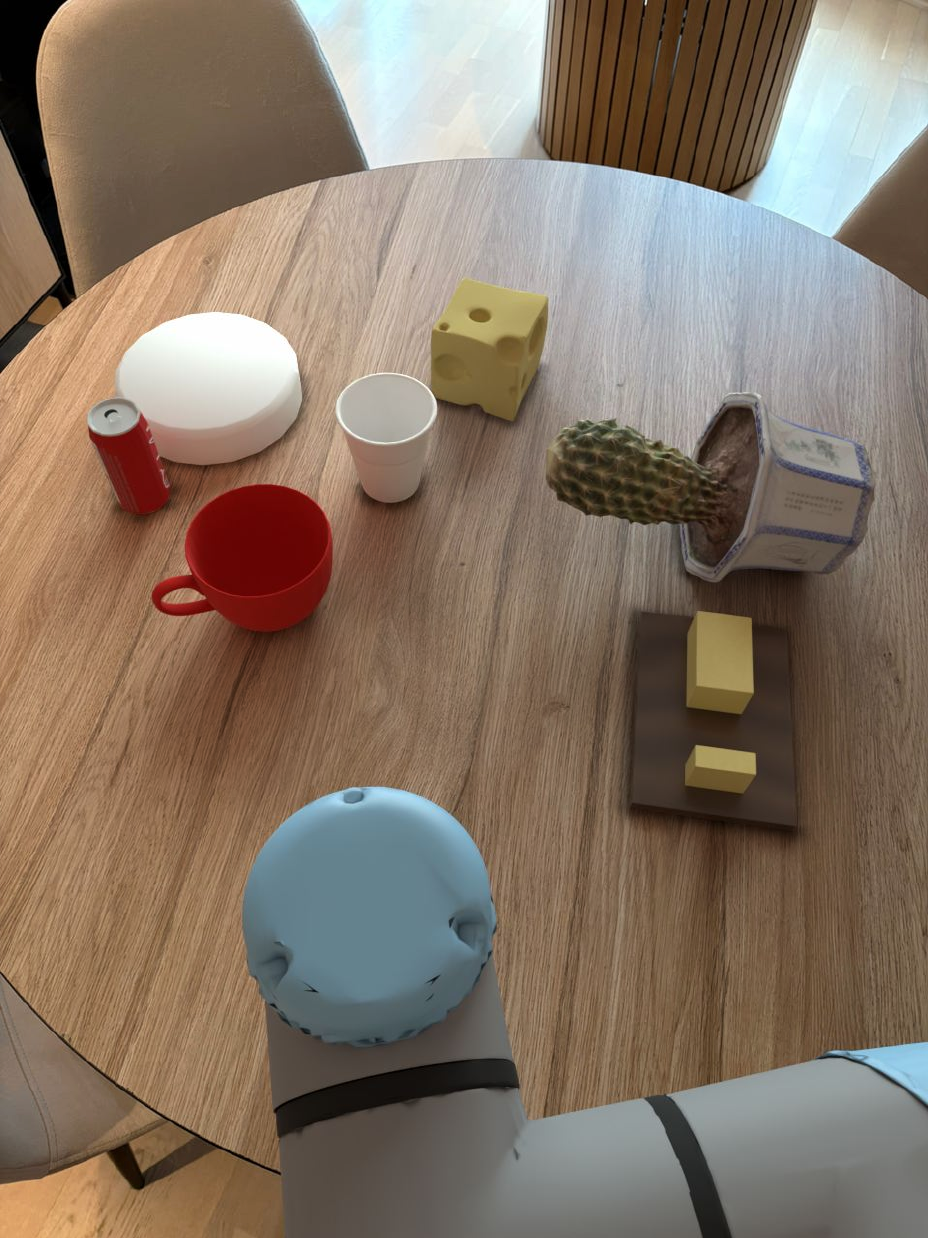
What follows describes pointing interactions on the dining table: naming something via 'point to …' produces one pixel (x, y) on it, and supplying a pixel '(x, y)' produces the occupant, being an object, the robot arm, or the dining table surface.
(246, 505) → the ceramic cup
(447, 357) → the cheese
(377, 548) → the dining table surface
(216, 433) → the container
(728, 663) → the butter block
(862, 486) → the potted plant
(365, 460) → the cup
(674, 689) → the board
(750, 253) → the dining table surface
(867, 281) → the dining table surface
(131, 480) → the soda can
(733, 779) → the block
